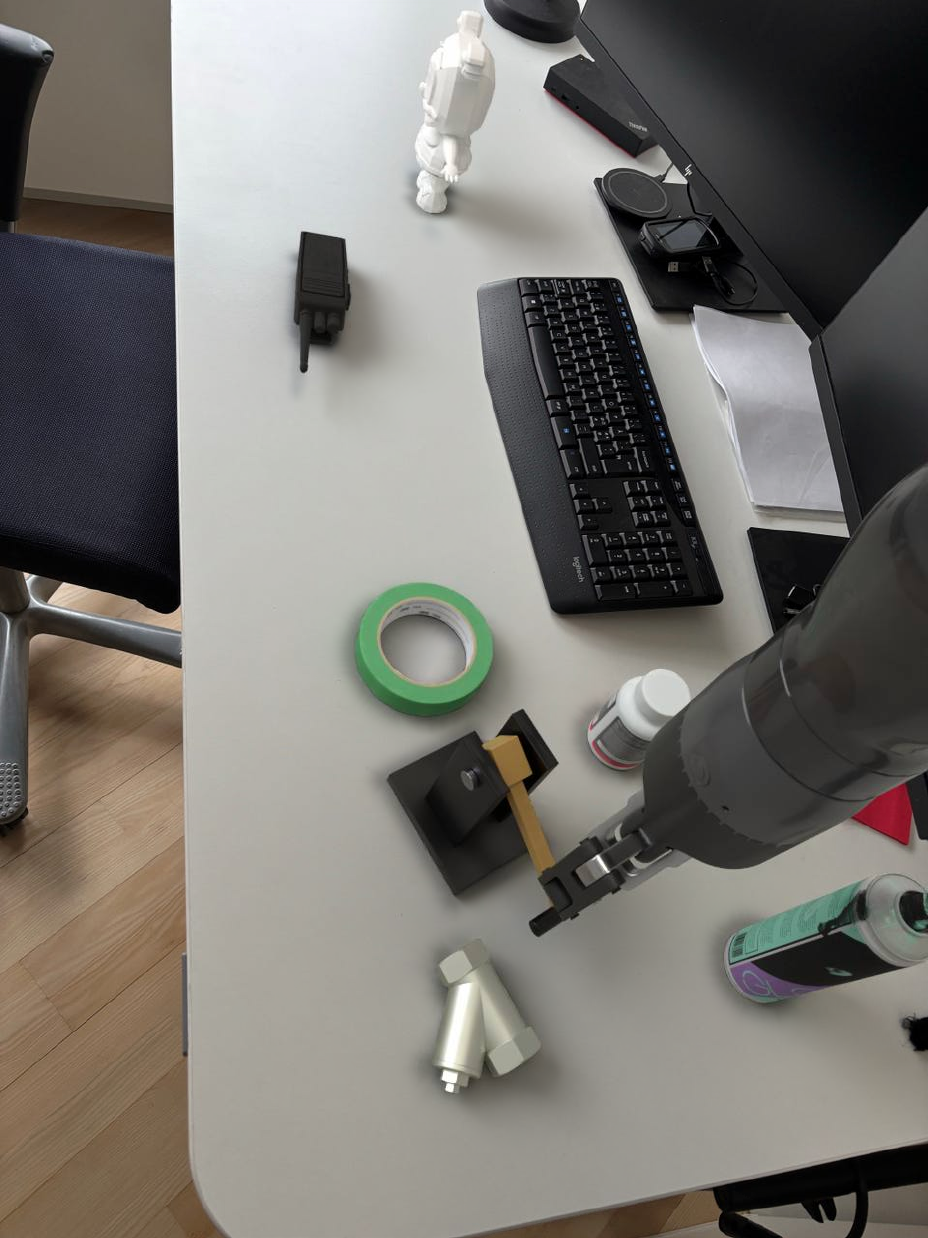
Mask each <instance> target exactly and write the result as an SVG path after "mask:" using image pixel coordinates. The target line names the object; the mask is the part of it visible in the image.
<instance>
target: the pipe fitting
mask: <svg viewBox="0 0 928 1238" xmlns="http://www.w3.org/2000/svg"><path fill="white" fill-rule="evenodd" d="M490 960H491V953H489V951H488V949H487V946H485V944H484V942H483V940H482V939H481V938H476V939H474V940H472V941H471V942H469V943H468V944H466V945H464V946H462V947H461V948H460V949H458V950H456V951H455V952H453V953H452V954H450V955H448V956H447V957H446V958H444V959H442V960H441V961H440V962H438V963H437V964H435V966H434V971H435V972H436V974H437V976H438V978H439V980H440V981H441V983H442V986H443V987H445V988H447V989H448V990H447V995H446V999H445V1003H444V1007H443V1012H442V1016H441V1021H440V1025H439V1029H438V1034H437V1038H436V1042H435V1047H434V1052H433V1056H432V1061H431V1067H433V1068H436V1069H438V1070H441V1073H440V1075H439V1076H440V1077H439V1081H440V1082H442V1083H445V1085H444V1092H447V1093H450V1094H455V1095H459V1091H460V1088H467V1087H468V1083H469V1078H472V1079H477V1080H479V1079H481V1077H482V1072H483V1067H484V1063H486V1065H487V1067H488V1069H489V1071H490V1072H491V1075H492V1076H493V1077H495V1078H500V1077H502V1076H504V1075H506V1074H508V1073H510V1072H511V1071H513V1070H514V1069H516V1068H517V1067H518V1066H520V1065H522V1064H523V1063H525V1062H526V1061H527V1060H529V1059H530V1058H531V1057H533V1056H534V1055H535V1054H536V1053H538V1052H539V1051H540V1049H541V1047H542V1043H541V1041H540V1039H539V1038H538V1037H537V1034H536V1033H535V1031H534V1029H533V1028H532V1026H531V1025H527V1024H526V1022H525V1021H524V1019H523V1017H522V1016H521V1014H520V1012H519V1010H518V1008H517V1006H516V1005H515V1003H514V1002H513V1000H512V998H511V996H510V994H509V993H508V991H507V989H506V987H505V986H504V984H503V982H502V981H501V979H500V977H499V974H498V973H497V972H496V970H495V968H494V966H493V964H492V962H491V961H490Z"/></svg>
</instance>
